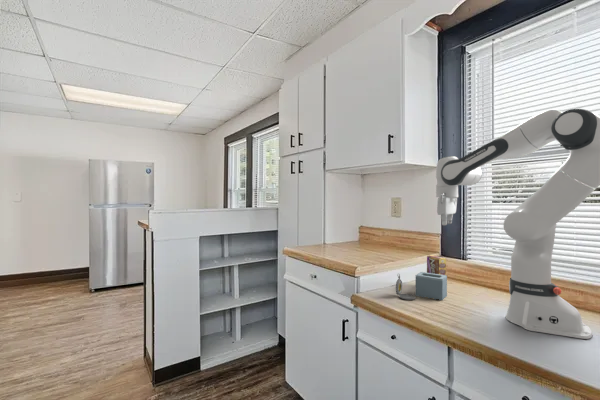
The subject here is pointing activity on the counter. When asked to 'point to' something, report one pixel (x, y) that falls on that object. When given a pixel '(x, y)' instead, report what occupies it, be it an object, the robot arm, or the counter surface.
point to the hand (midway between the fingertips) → (446, 224)
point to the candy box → (436, 265)
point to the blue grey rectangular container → (431, 285)
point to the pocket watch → (399, 289)
